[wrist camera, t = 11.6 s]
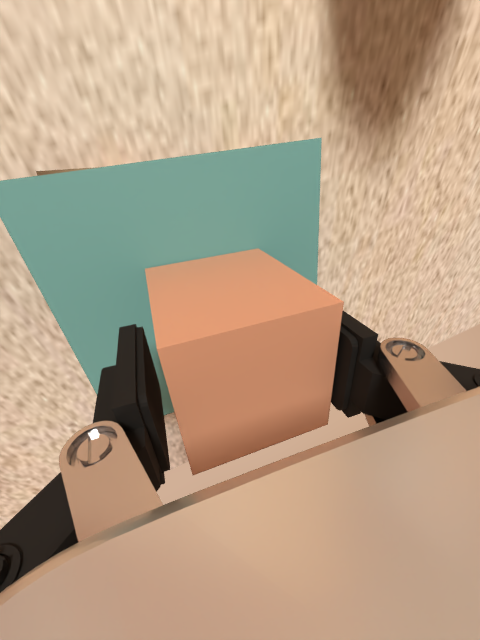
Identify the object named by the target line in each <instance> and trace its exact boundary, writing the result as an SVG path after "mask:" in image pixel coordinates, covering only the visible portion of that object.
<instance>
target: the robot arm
mask: <svg viewBox="0 0 480 640" xmlns="http://www.w3.org/2000/svg"><path fill="white" fill-rule="evenodd" d="M377 337H378V334H377V333H375V332H374V331H372V330H371V329H369V328H368V327H366V326H365V325H363V324H362V323H360V322H359V321H358V320H356V319H355V318H353V317H352V316H350V315H349V314H347V313H346V312H344V311H342V319H341V326H340V334H339V342H338V350H337V357H336V365H335V373H334V380H333V388H332V396H331V403H332V404H333V405H334V406H335V407H336V409H338V410H342V411H343V412H344V414H345V415H346V416H347V417H351V416H354V415H357V414H360V413H361V412H362V413H364V414H365V417H366V420H367V422H368V424H369V427H367V428H364V429H362V430H359V431H356V432H353V433H351V434H348V435H345V436H343V437H340V438H337V439H335V440H332V441H330V442H327V443H324V444H321V445H319V446H316V447H314V448H311V449H308V450H306V451H303V452H300V453H297V454H295V455H292V456H290V457H287V458H284V459H282V460H279V461H276V462H274V463H271V464H268V465H266V466H264V467H261V468H258V469H255V470H253V471H250V472H248V473H245V474H242V475H240V476H237V477H235V478H232V479H229V480H227V481H224V482H221V483H219V484H216V485H213V486H211V487H208V488H206V489H203V490H200V491H198V492H195V493H193V494H190V495H188V496H185V497H183V498H180V499H178V500H175V501H173V502H170V503H168V504H165V505H163V503H162V502H161V500H160V498H159V496H158V494H157V490H158V489H159V488H160V485H161V484H164V483H165V478H164V471H167V470H170V463H169V455H168V446H167V438H166V430H165V422H164V413H163V405H162V397H161V389H160V384H159V381H158V377H157V374H156V370H155V367H154V363H153V360H152V356H151V353H150V349H149V346H148V342H147V339H146V335H145V332H144V329H143V326H142V327H137V325H136V324H133V325H128V326H123V327H119V336H118V347H117V358H116V365H113V366H109V367H105V368H103V369H102V370H101V375H100V382H99V388H98V394H97V400H96V406H95V413H94V419H93V424H90V425H88V426H86V427H84V428H82V429H81V430H79V431H78V432H76V433H75V434H74V435H73V436H72V437H71V438H70V439H69V440H68V441H67V442H66V444H65V445H64V446H63V448H62V450H61V453H60V455H59V466H60V470H61V472H60V473H59V474H58V475H57V476H56V477H55V478H54V479H53V480H52V481H51V482H50V483H49V484H48V485H47V486H46V487H45V488H44V489H43V490H42V491H40V492H39V493H38V494H37V495H36V496H35V497H34V498H33V499H32V500H31V501H30V502H29V503H28V504H27V505H26V506H25V507H24V508H23V509H22V510H21V511H20V512H19V513H17V514H16V515H15V516H14V517H13V518H12V519H11V520H10V521H9V522H8V523H7V524H6V525H5V526H4V527H3V528H2V529H1V530H0V640H480V369H476V368H471V367H466V366H461V365H456V364H451V363H446V362H441V361H438V360H437V358H436V357H435V356H434V355H433V354H432V353H431V352H430V351H429V350H428V349H427V348H426V347H425V346H423V345H422V344H420V343H418V342H416V341H413V340H410V339H405V338H388V339H386V340H384V341H383V342H382V343H380V342H378V341H377Z"/></svg>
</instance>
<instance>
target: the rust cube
mask: <svg viewBox="0 0 480 640" xmlns="http://www.w3.org/2000/svg"><path fill="white" fill-rule="evenodd" d="M145 273H146V280H147V287H148V293H149V300H150V307H151V313H152V320H153V327H154V333H155V340H156V347H157V351H158V355H159V358H160V362H161V365H162V369H163V372H164V376H165V379H166V383H167V386H168V390H169V394H170V397H171V401H172V404H173V408H174V411H175V415H176V418H177V422H178V425H179V429H180V432H181V436H182V439H183V443H184V446H185V450H186V453H187V457H188V460H189V464H190V467H191V470H192V474H193V475H195V474H198V473H200V472H203V471H206V470H208V469H211V468H214V467H216V466H219V465H221V464H224V463H227V462H229V461H232V460H235V459H237V458H240V457H243V456H245V455H248V454H251V453H253V452H256V451H258V450H261V449H264V448H267V447H269V446H272V445H274V444H277V443H280V442H282V441H285V440H288V439H290V438H293V437H296V436H298V435H301V434H303V433H306V432H309V431H312V430H314V429H317V428H319V427H322V426H325V425H327V424H328V419H329V411H330V403H331V396H332V388H333V380H334V373H335V365H336V357H337V350H338V342H339V334H340V326H341V319H342V311H343V303H344V302H343V301H341V300H340V299H338V298H337V297H335V296H333V295H332V294H330V293H329V292H327V291H325V290H324V289H322V288H321V287H319V286H318V285H316V284H314V283H313V282H311V281H310V280H308V279H306V278H305V277H303V276H302V275H300V274H298V273H297V272H295V271H294V270H292V269H290V268H289V267H287V266H286V265H284V264H283V263H281V262H279V261H278V260H276V259H275V258H273V257H271V256H270V255H268V254H267V253H265V252H263V251H262V250H260V249H259V248H257V249H252V250H246V251H241V252H235V253H230V254H224V255H218V256H213V257H207V258H202V259H196V260H190V261H185V262H179V263H174V264H168V265H163V266H157V267H151V268H146V269H145Z"/></svg>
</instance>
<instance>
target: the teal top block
mask: <svg viewBox="0 0 480 640" xmlns="http://www.w3.org/2000/svg"><path fill="white" fill-rule="evenodd" d="M320 169H321V138H316V139H309V140H302V141H294V142H287V143H279V144H272V145H264V146H257V147H249V148H242V149H234V150H227V151H219V152H212V153H204V154H197V155H190V156H182V157H175V158H167V159H160V160H152V161H145V162H137V163H130V164H122V165H115V166H107V167H100V168H93V169H85V170H78V171H70V172H63V173H55V174H48V175H40V176H33V177H25V178H18V179H10V180H3V181H0V217H1V219H2V221H3V223H4V225H5V227H6V228H7V230H8V232H9V234H10V236H11V238H12V239H13V241H14V243H15V245H16V247H17V249H18V250H19V252H20V254H21V256H22V258H23V260H24V261H25V263H26V265H27V267H28V269H29V271H30V273H31V274H32V276H33V278H34V280H35V282H36V284H37V285H38V287H39V289H40V291H41V293H42V295H43V296H44V298H45V300H46V302H47V304H48V306H49V307H50V309H51V311H52V313H53V315H54V317H55V318H56V320H57V322H58V324H59V326H60V328H61V329H62V331H63V333H64V335H65V337H66V339H67V340H68V342H69V344H70V346H71V348H72V350H73V351H74V353H75V355H76V357H77V359H78V361H79V363H80V364H81V366H82V368H83V370H84V372H85V374H86V375H87V377H88V379H89V381H90V383H91V385H92V386H93V388H94V390H95V392H96V394H98V388H99V382H100V375H101V370H102V369H103V368H105V367H109V366H113V365H116V358H117V347H118V336H119V327H123V326H128V325H133V324H136V325H137V327H142V326H143V329H144V332H145V335H146V339H147V342H148V346H149V349H150V353H151V356H152V360H153V363H154V367H155V370H156V374H157V377H158V381H159V384H160V389H161V397H162V405H163V413H164V415H167V414H170V413H173V412H175V411H174V408H173V404H172V401H171V397H170V394H169V390H168V386H167V383H166V379H165V376H164V372H163V369H162V365H161V362H160V358H159V355H158V351H157V347H156V340H155V333H154V327H153V320H152V313H151V307H150V300H149V293H148V287H147V280H146V273H145V269H146V268H151V267H157V266H163V265H168V264H174V263H179V262H185V261H190V260H196V259H202V258H207V257H213V256H218V255H224V254H230V253H235V252H241V251H246V250H252V249H257V248H259V249H260V250H262V251H263V252H265V253H267V254H268V255H270V256H271V257H273V258H275V259H276V260H278V261H279V262H281V263H283V264H284V265H286V266H287V267H289V268H290V269H292V270H294V271H295V272H297V273H298V274H300V275H302V276H303V277H305V278H306V279H308V280H310V281H311V282H313V283H314V284H316V285H317V267H318V234H319V202H320Z"/></svg>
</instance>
